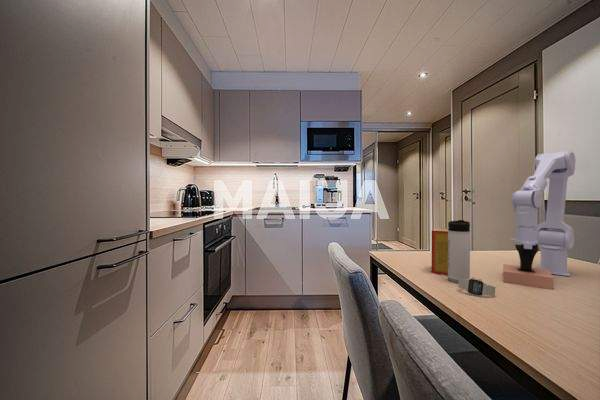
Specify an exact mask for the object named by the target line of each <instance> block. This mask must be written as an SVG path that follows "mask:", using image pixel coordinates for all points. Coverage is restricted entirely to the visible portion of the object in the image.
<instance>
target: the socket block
mask: <svg viewBox="0 0 600 400" xmlns="http://www.w3.org/2000/svg"><path fill="white" fill-rule="evenodd" d="M502 264H503V265H502V268H503V269H502V271H503V272H502V276H503V277H502V278H503V279H502V280H503V283H507V284H515V285H520V286H527V287H528V286H529V287H535V288H541V289H548V290H554V276H553V274H551V273H550V272H549V270H548V269H541V268H538V267H532V272H524V271H520V265H515V264H504V263H502Z"/></svg>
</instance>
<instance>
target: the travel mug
mask: <svg viewBox="0 0 600 400" xmlns="http://www.w3.org/2000/svg"><path fill="white" fill-rule="evenodd" d="M447 224H448V225H447V226H448V228H447V229H448V275H447V280H448V281H449V282H452V283H453V284H454V283H455V284H458V283H459V279H465V280H466V279H471V278H470V277H471V276H470V275H471V274H470V273H471V272H470V271H471V269H470V268H471V264H470V263H471V230H470V229H471V222H469V221H467V220H464V219H458V220H450V221H448V222H447Z"/></svg>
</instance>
